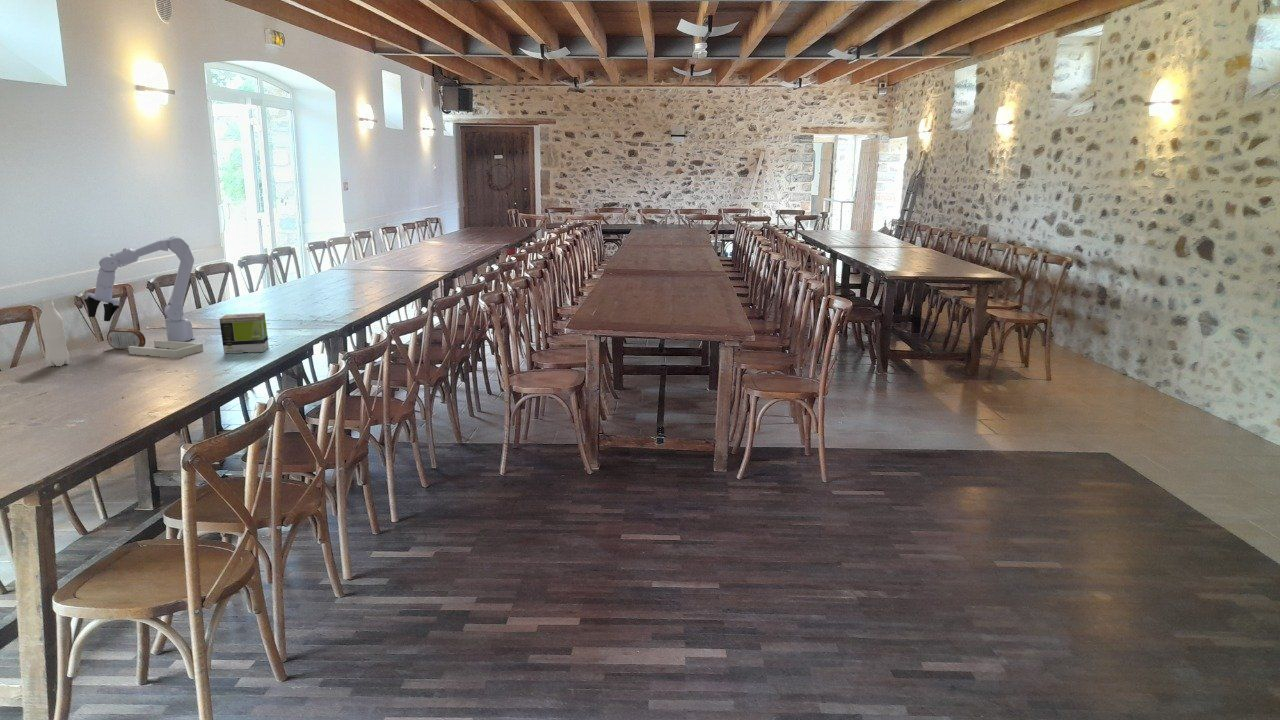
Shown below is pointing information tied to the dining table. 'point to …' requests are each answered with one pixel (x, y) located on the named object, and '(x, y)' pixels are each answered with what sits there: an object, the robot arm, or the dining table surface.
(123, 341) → the tin
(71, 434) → the dining table surface
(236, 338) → the tea box
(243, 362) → the dining table surface
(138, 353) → the box
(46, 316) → the water bottle
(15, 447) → the dining table surface
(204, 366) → the dining table surface
